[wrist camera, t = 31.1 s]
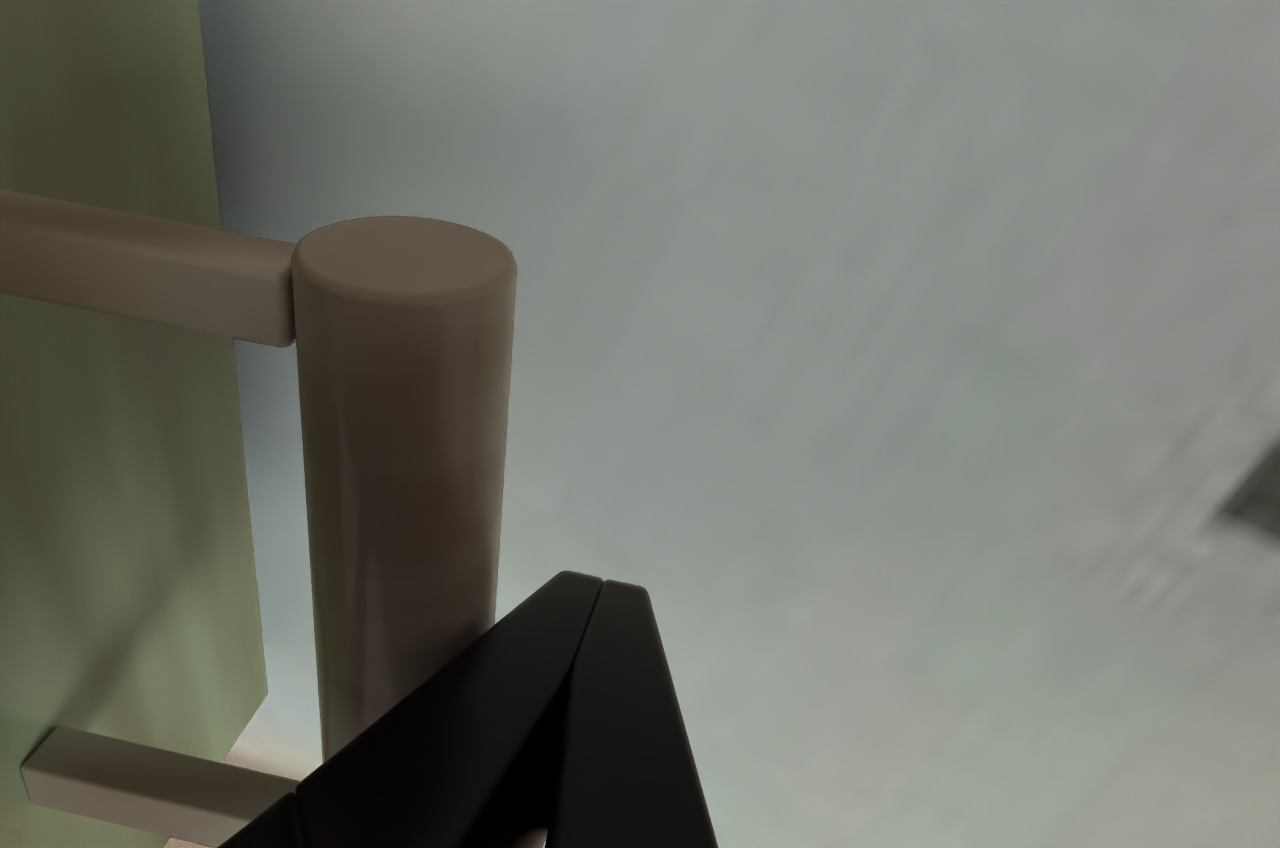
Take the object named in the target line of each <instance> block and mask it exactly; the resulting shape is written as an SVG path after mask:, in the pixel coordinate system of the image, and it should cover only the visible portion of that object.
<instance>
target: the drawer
mask: <svg viewBox="0 0 1280 848" xmlns="http://www.w3.org/2000/svg"><path fill="white" fill-rule="evenodd" d="M516 282H517V264H516V262H515V259H514V257H513V254H512V252H511V251H510V250H509V249H508V247H507V246H505V245H504V244H503V243H502V242H501V241H499V240H497V239H496V238H494V237H492V236H490V235H488V234H486V233H484V232H482V231H479V230H477V229H473V228H470V227H467V226H464V225H460V224H456V223H452V222H447V221H443V220H437V219H430V218H422V217H409V216H378V217H366V218H358V219H351V220H346V221H341V222H337V223H333V224H329V225H326V226H323V227H321V228H318V229H316V230H314V231H312V232H310V233H309V234H307V235H305V236H304V237H303V238H302V239H301V240H300V241H299V242H298V243H297V244H295V243H290V242H284V241H279V240H274V239H268V238H263V237H257V236H252V235H247V234H241V233H236V232H231V231H225V230H221V220H220V210H219V201H218V191H217V181H216V171H215V161H214V151H213V141H212V131H211V121H210V111H209V101H208V91H207V81H206V71H205V61H204V52H203V42H202V32H201V22H200V12H199V2H198V0H0V848H163V847H164V846H165V844H166V843H167V841H168V840H169V838H170V837H172V838H176V839H180V840H184V841H188V842H192V843H197V844H201V845H205V846H209V847H213V848H217V847H219V846H220V845H221V844H222V843H224V842H225V841H226V840H228V839H229V838H230V837H232V836H233V835H234V834H235V833H237V832H238V831H239V830H241V829H242V828H243V827H245V826H246V825H247V824H249V823H250V822H251V821H252V820H254V819H255V818H256V817H257V816H259V815H260V814H261V813H262V812H264V811H265V810H266V809H267V808H268V807H270V806H271V805H272V804H273V803H275V802H276V801H277V800H278V799H279V798H281V797H282V796H283V795H284V794H285V793H287V792H293V793H295V788H296V786H297V784H299V783H300V782H301V781H297V780H293V779H289V778H284V777H280V776H276V775H271V774H267V773H263V772H258V771H254V770H250V769H246V768H241V767H237V766H233V765H228V764H224V763H221V762H222V760H223V759H224V758H225V756H226V755H227V753H228V752H229V750H230V749H231V747H232V746H233V744H234V743H235V741H236V740H237V738H238V737H239V735H240V734H241V733H242V731H243V730H244V728H245V727H246V725H247V724H248V722H249V721H250V719H251V718H252V716H253V715H254V713H255V712H256V710H257V709H258V708H259V706H260V705H261V703H262V702H263V700H264V699H265V697H266V696H267V694H268V687H267V677H266V667H265V657H264V647H263V637H262V628H261V618H260V608H259V598H258V588H257V578H256V568H255V558H254V548H253V538H252V528H251V518H250V508H249V498H248V489H247V479H246V469H245V459H244V449H243V439H242V429H241V419H240V409H239V399H238V389H237V379H236V369H235V359H234V349H233V340H232V338H234V339H239V340H244V341H250V342H255V343H260V344H265V345H270V346H275V347H287V346H291V345H292V344H293V343H294V342H295V341H296V347H297V363H298V378H299V394H300V410H301V426H302V442H303V457H304V473H305V489H306V505H307V520H308V536H309V552H310V568H311V584H312V599H313V615H314V631H315V647H316V662H317V678H318V694H319V710H320V726H321V741H322V757H323V763H325V762H326V761H327V760H328V759H330V758H331V757H332V756H333V755H334V754H336V753H337V752H338V751H339V750H341V749H342V748H343V747H344V746H346V745H347V744H348V743H349V742H351V741H352V740H353V739H354V738H355V737H357V736H358V735H359V734H360V733H362V732H363V731H364V730H365V729H367V728H368V727H369V726H370V725H372V724H373V723H374V722H375V721H376V720H378V719H379V718H380V717H381V716H383V715H384V714H385V713H386V712H388V711H389V710H390V709H391V708H392V707H394V706H395V705H396V704H397V703H399V702H400V701H401V700H402V699H404V698H405V697H406V696H407V695H409V694H410V693H411V692H412V691H413V690H415V689H416V688H417V687H418V686H420V685H421V684H422V683H423V682H425V681H426V680H427V679H428V678H429V677H431V676H432V675H433V674H434V673H436V672H437V671H438V670H439V669H441V668H442V667H443V666H444V665H446V664H447V663H448V662H449V661H450V660H452V659H453V658H454V657H455V656H457V655H458V654H459V653H460V652H462V651H463V650H464V649H465V648H467V647H468V646H469V645H470V644H471V643H473V642H474V641H475V640H476V639H478V638H479V637H480V636H481V635H483V634H484V633H485V632H486V631H487V630H489V629H490V628H491V627H492V626H494V625H495V610H496V595H497V579H498V563H499V548H500V532H501V516H502V501H503V485H504V469H505V454H506V438H507V423H508V407H509V391H510V376H511V360H512V344H513V329H514V313H515V297H516Z"/></svg>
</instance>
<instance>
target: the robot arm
mask: <svg viewBox="0 0 1280 848" xmlns="http://www.w3.org/2000/svg"><path fill="white" fill-rule="evenodd" d="M545 840H546V844H545V848H718V845H717V841H716V838H715V834H714V830H713V827H712V823H711V819H710V816H709V812H708V808H707V805H706V801H705V798H704V794H703V790H702V787H701V783H700V779H699V776H698V772H697V768H696V765H695V761H694V757H693V754H692V750H691V747H690V743H689V739H688V736H687V732H686V728H685V725H684V721H683V717H682V714H681V710H680V707H679V703H678V699H677V696H676V692H675V688H674V685H673V681H672V677H671V674H670V670H669V667H668V663H667V659H666V656H665V652H664V648H663V645H662V641H661V637H660V634H659V630H658V626H657V623H656V619H655V616H654V612H653V608H652V605H651V601H650V597H649V594H648V592H647V590H646V589H645V588H644V587H642V586H638V585H634V584H629V583H624V582H619V581H615V580H606V581H603V580H602V579H601V578H600V577H596V576H592V575H587V574H582V573H578V572H573V571H562V572H559V573H558V574H557V575H555V576H554V577H553V578H552V579H550V580H549V581H548V582H547V583H545V584H544V585H543V586H542V587H541V588H539V589H538V590H537V591H536V592H534V593H533V594H532V595H531V596H529V597H528V598H527V599H526V600H525V601H523V602H522V603H521V604H520V605H518V606H517V607H516V608H515V609H513V610H512V611H511V612H510V613H508V614H507V615H506V616H505V617H504V618H502V619H501V620H500V621H499V622H497V623H496V624H495V625H494V626H492V627H491V628H490V629H489V630H487V631H486V632H485V633H484V634H483V635H481V636H480V637H479V638H478V639H476V640H475V641H474V642H473V643H471V644H470V645H469V646H468V647H467V648H465V649H464V650H463V651H462V652H460V653H459V654H458V655H457V656H455V657H454V658H453V659H452V660H450V661H449V662H448V663H447V664H446V665H444V666H443V667H442V668H441V669H439V670H438V671H437V672H436V673H434V674H433V675H432V676H431V677H429V678H428V679H427V680H426V681H425V682H423V683H422V684H421V685H420V686H418V687H417V688H416V689H415V690H413V691H412V692H411V693H410V694H409V695H407V696H406V697H405V698H404V699H402V700H401V701H400V702H399V703H397V704H396V705H395V706H394V707H392V708H391V709H390V710H389V711H388V712H386V713H385V714H384V715H383V716H381V717H380V718H379V719H378V720H376V721H375V722H374V723H373V724H372V725H370V726H369V727H368V728H367V729H365V730H364V731H363V732H362V733H360V734H359V735H358V736H357V737H355V738H354V739H353V740H352V741H351V742H349V743H348V744H347V745H346V746H344V747H343V748H342V749H341V750H339V751H338V752H337V753H336V754H334V755H333V756H332V757H331V758H330V759H328V760H327V761H326V762H325V763H323V764H322V765H321V766H320V767H318V768H317V769H316V770H315V771H314V772H312V773H311V774H310V775H309V776H307V777H306V778H305V779H304V780H302V781H301V782H300V783H299V784H297V786H296V788H295V793H293V792H287V793H285V794H284V795H283V796H282V797H281V798H279V799H278V800H277V801H276V802H275V803H273V804H272V805H271V806H270V807H268V808H267V809H266V810H265V811H264V812H262V813H261V814H260V815H259V816H257V817H256V818H255V819H254V820H252V821H251V822H250V823H249V824H247V825H246V826H245V827H243V828H242V829H241V830H239V831H238V832H237V833H235V834H234V835H233V836H232V837H230V838H229V839H228V840H226V841H225V842H224V843H222V844H221V845H220V846H219V847H217V848H543V845H544V842H545Z"/></svg>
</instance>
